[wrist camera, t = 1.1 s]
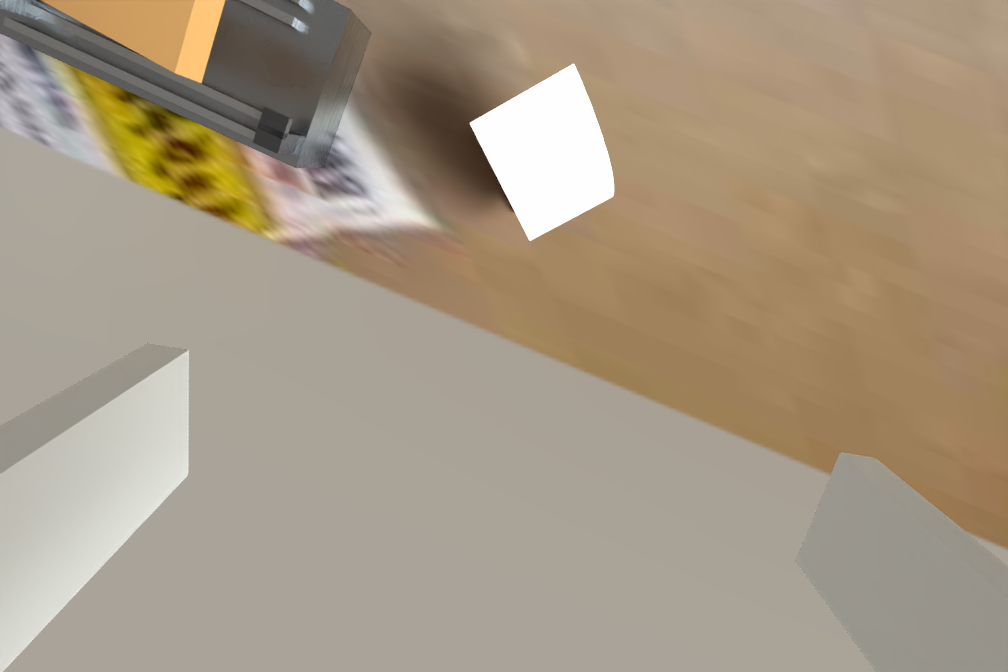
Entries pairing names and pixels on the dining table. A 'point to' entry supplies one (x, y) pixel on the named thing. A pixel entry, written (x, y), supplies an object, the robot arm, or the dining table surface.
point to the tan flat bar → (155, 28)
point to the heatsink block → (229, 70)
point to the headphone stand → (547, 152)
